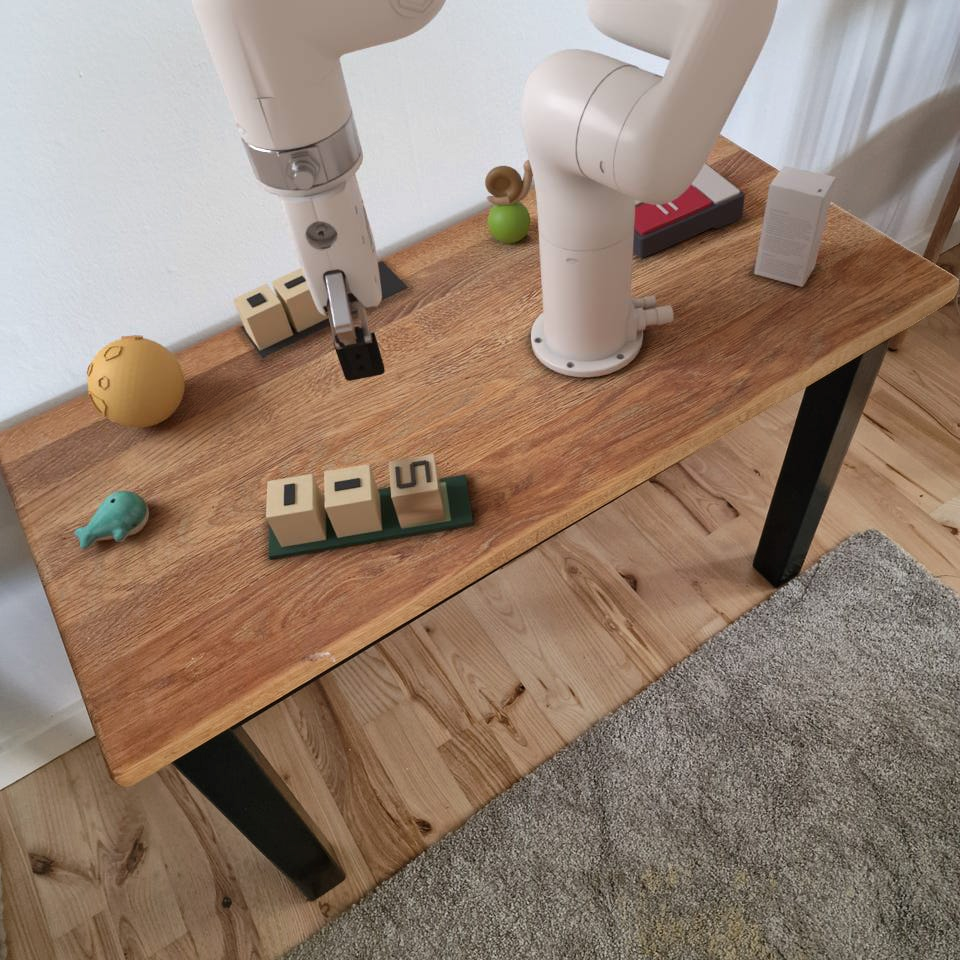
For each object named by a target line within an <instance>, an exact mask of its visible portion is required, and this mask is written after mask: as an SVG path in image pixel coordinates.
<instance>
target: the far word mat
mask: <svg viewBox="0 0 960 960" xmlns="http://www.w3.org/2000/svg"><path fill="white" fill-rule="evenodd" d="M378 268H379V275H380V283H381V291H382V299H381V302H382V301H384V300H386V299H389V298H390V297H393V296H394V295H396V294H398V293H401V292H402V291H404V290H406V289H408V288H409V287H408V286H407V285H406V284H405V283H404V282H403V281H402V280H401V279H400V278H399V276H397V275H396V273H394V272H393V270H391V268H390V267H389V266H388V265H387V264H386V263H384V261H383V260H380V261H378ZM271 285H272V287H273V290H274V291H273V290H272V289H271V287H270V286H269V285H268V284H267V283H265V284H263V285H261V286H259V287H257V288H254V289H252V290H250V291H247V292H245V293H243V294H240V295H239V296H237V297H234V298H232V301H233V303H234V306H235V308H236V311H237V313H238V316H239V318H240V320H241V323H242V326H240V329H241V330H242V332H243V333H244V335H245V336H246V338H247V340H249V342H250V343H251V345H252V346H253V347H254V349H255V350H256V352H257V353H258V355H259V356H260V357H261V358H262V359H264V358H265V357H268V356H270V355H272V354H274V353H277V352H278V351H281V350H283V349H285V348H286V347H289V346H291V345H292V344H293V345H294V343H297V342H299V341H301V340H303V339H305V338H308V337H309V336H311V335H313V334H315V333H318V332H320V331H322V330H324V329H326V328H328V327H331V326H330V322H329V317H328V316H325V315H323V314H321V313H320V312H319V311H318V309H317V307H316V305H315V303H314V300H313V298H312V295H311V293H310V290H309V287H308V285H307V282H306V279H305V276H304V273H303V270H302V267H300V268H298V269H295V270H293V271H292V272H289V273H287V274H285V275H283V276H280V277H278V278H276V279H274V280H272V281H271ZM356 301H357V300H356ZM351 302H355V301H351ZM349 303H350V302H349ZM365 309H367V308H366V307H365ZM355 314H358V311H357V310H354V311H351V316H353V315H355Z"/></svg>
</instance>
